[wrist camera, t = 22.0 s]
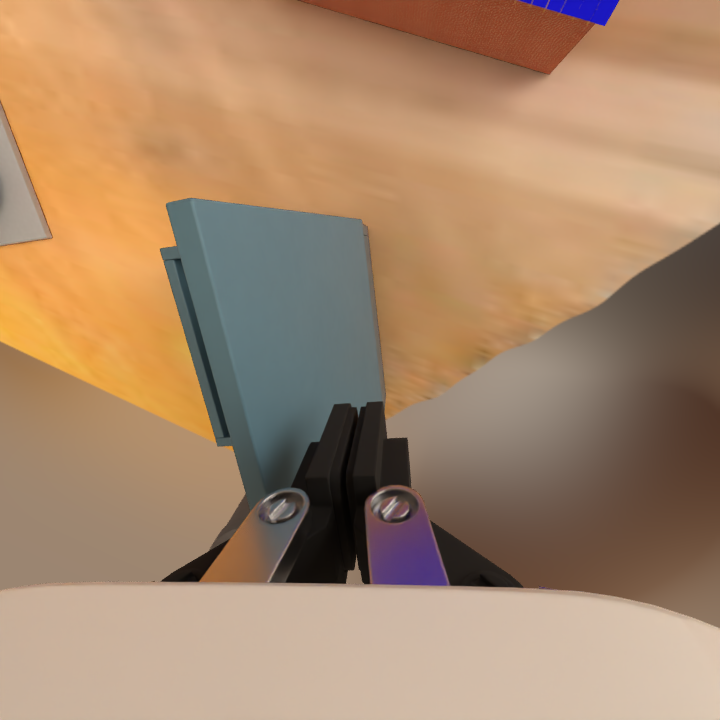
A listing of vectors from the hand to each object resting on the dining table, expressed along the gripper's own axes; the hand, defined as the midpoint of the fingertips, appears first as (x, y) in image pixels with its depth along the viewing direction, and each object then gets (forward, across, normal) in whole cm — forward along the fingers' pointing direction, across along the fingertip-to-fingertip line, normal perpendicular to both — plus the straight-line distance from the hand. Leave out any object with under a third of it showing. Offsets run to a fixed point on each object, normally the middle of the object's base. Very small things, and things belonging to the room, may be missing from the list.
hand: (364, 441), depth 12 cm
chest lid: (+5, +2, 0) cm, 6 cm away
